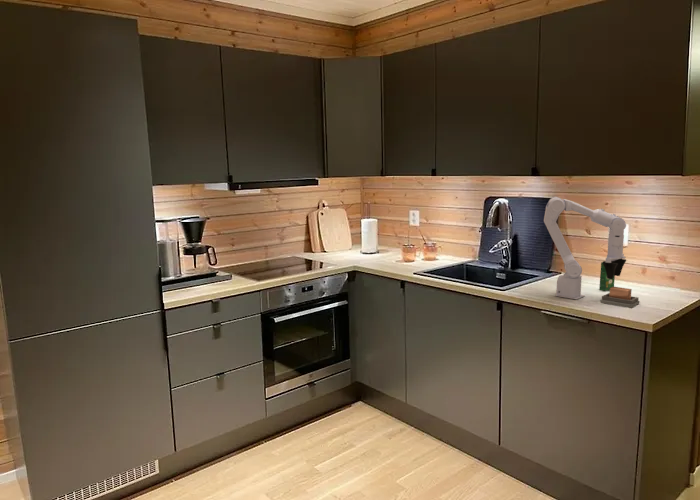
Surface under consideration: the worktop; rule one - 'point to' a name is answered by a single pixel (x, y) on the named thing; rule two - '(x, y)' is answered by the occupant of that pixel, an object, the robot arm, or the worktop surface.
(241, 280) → the worktop surface
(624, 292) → the terracotta bar
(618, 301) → the nest plate
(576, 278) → the robot arm
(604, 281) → the coffee box
